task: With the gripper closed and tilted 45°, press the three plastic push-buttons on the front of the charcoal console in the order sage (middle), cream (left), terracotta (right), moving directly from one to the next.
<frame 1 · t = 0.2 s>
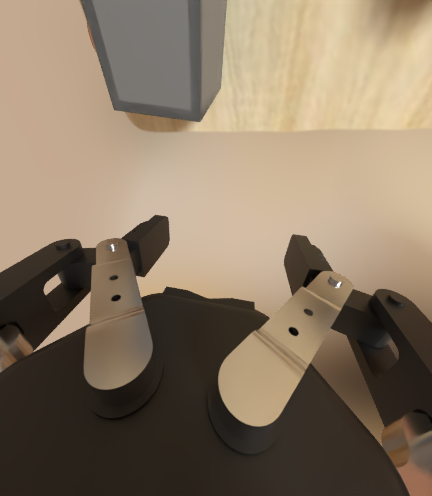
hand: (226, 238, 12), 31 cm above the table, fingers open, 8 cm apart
terracotta button: (128, 39, 22), point 9 cm above the table, slide at 0.0 cm
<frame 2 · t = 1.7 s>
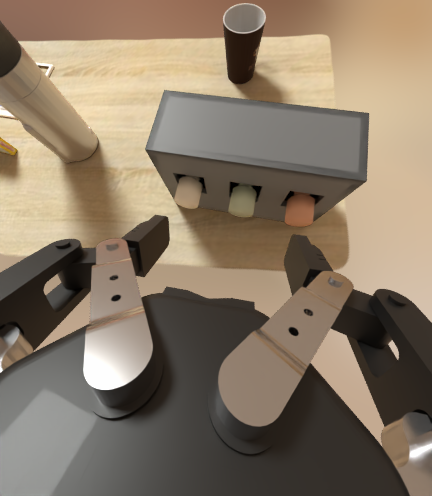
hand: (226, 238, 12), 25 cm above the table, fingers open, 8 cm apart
cream button: (191, 184, 31), point 9 cm above the table, slide at 0.0 cm
terracotta button: (300, 201, 29), point 9 cm above the table, slide at 0.0 cm
console: (244, 192, 40), on the table
sage button: (244, 192, 30), point 9 cm above the table, slide at 0.0 cm
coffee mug: (244, 71, 48), on the table
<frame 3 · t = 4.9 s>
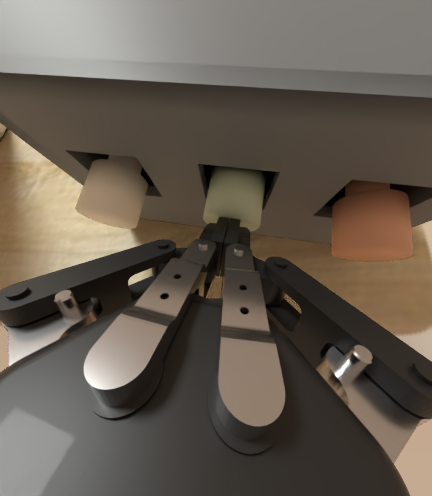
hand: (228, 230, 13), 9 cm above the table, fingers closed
cream button: (121, 177, 14), point 9 cm above the table, slide at 0.0 cm
terracotta button: (366, 205, 13), point 9 cm above the table, slide at 0.0 cm
console: (238, 193, 23), on the table
sage button: (237, 179, 14), point 9 cm above the table, slide at 1.0 cm, touching gripper
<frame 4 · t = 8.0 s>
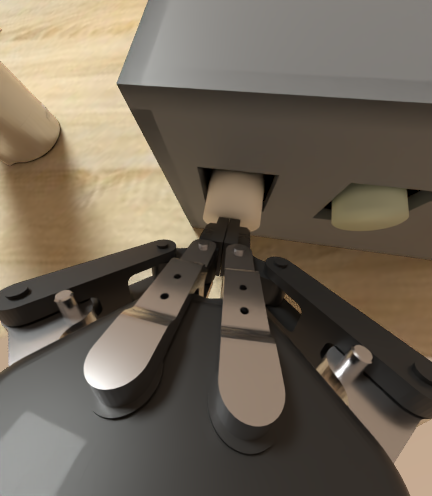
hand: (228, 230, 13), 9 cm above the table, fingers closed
cream button: (237, 179, 14), point 9 cm above the table, slide at 1.2 cm, touching gripper
console: (311, 204, 23), on the table
sage button: (365, 175, 13), point 9 cm above the table, slide at 2.6 cm
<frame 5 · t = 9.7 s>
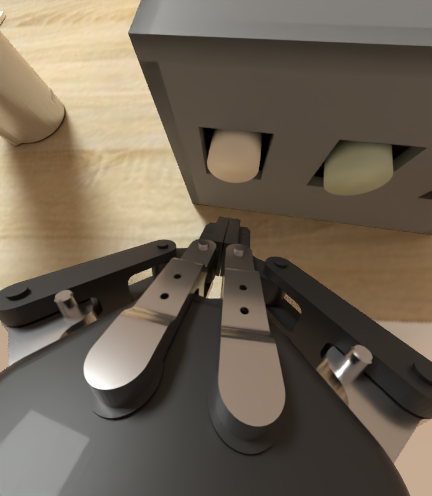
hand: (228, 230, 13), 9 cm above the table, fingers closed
cream button: (238, 130, 15), point 9 cm above the table, slide at 2.6 cm
console: (307, 181, 24), on the table
sage button: (355, 141, 14), point 9 cm above the table, slide at 2.6 cm
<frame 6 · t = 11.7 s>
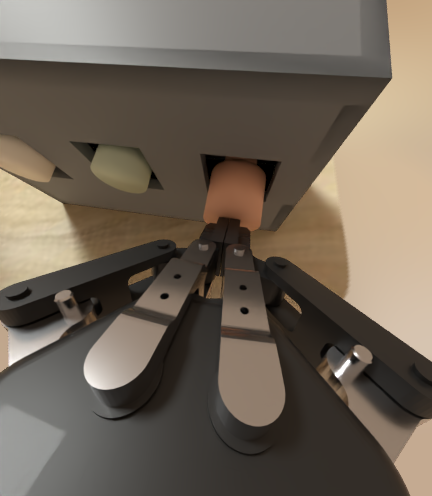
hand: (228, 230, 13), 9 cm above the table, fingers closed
cream button: (35, 133, 16), point 9 cm above the table, slide at 2.6 cm
terracotta button: (238, 178, 14), point 9 cm above the table, slide at 0.3 cm, touching gripper
console: (171, 181, 24), on the table
sage button: (132, 142, 15), point 9 cm above the table, slide at 2.6 cm
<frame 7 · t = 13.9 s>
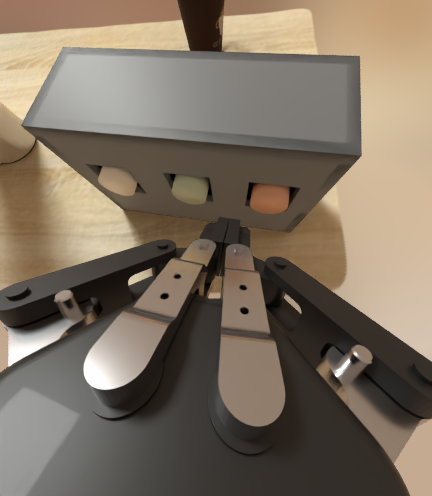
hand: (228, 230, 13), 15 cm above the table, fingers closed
cream button: (125, 162, 23), point 9 cm above the table, slide at 2.6 cm
terracotta button: (271, 177, 21), point 9 cm above the table, slide at 2.6 cm
console: (207, 192, 31), on the table
sage button: (195, 169, 22), point 9 cm above the table, slide at 2.6 cm
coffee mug: (211, 53, 40), on the table
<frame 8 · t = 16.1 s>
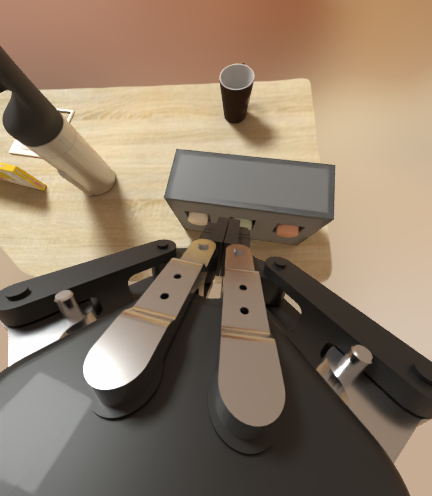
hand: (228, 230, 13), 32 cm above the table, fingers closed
candy box: (23, 182, 54), on the table
cream button: (200, 206, 39), point 9 cm above the table, slide at 2.6 cm
terracotta button: (288, 217, 37), point 9 cm above the table, slide at 2.6 cm
photo frame: (45, 133, 59), on the table
console: (241, 218, 47), on the table
sage button: (243, 211, 38), point 9 cm above the table, slide at 2.6 cm
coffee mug: (238, 112, 56), on the table
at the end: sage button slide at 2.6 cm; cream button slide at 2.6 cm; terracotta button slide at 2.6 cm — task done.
